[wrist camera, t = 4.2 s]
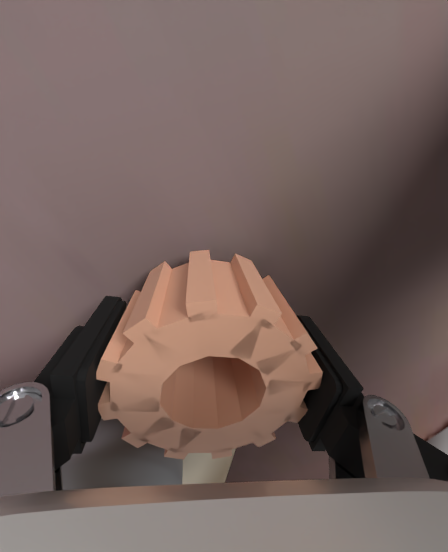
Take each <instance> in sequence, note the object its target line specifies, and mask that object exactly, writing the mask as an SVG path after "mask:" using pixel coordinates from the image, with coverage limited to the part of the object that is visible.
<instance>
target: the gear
mask: <svg viewBox="0 0 448 552" xmlns="http://www.w3.org/2000/svg"><path fill="white" fill-rule="evenodd" d="M316 349H318V348H317V346H316V345H315V343H314V342H313V340H312V339H311V337H310V336H309V334H308V333H307V331H306V330H305V328H304V327H303V325H302V324H301V322H300V321H299V319H298V318H297V316H296V315H295V313H294V312H293V310H292V309H291V307H290V306H289V304H288V303H287V301H286V300H285V298H284V297H283V295H282V294H281V292H280V291H279V289H278V288H277V286H276V285H275V283H274V282H273V280H272V279H271V277H270V276H269V275H268V276H266V277H265V278H263V279H262V278H261V276H260V275H259V273H258V271H257V269H256V268H255V266H254V264H253V263H252V261H251V260H249V259H247V258H244V257H242V256H240V255H237V254H235V255H234V257H233V258H232V260H231V262H224V261H217V260H211V259H210V252H209V250H201V251H192V252H190V256H189V263H186V264H183V265H181V266H178V267H175V268H173V269H172V268H171V267H170V266H169V265H168V264H167V263H166V262H165V261H164V262H163V263H161V264H160V265H158V266H157V267H156V268H154V269H153V270H151V271H150V273H149V275H148V277H147V279H146V282H145V284H144V286H143V288H142V291H141V292H140V291H137V290H135V292H134V294H133V296H132V298H131V300H130V302H129V304H128V306H127V308H126V310H125V312H124V314H123V316H122V318H121V320H120V322H119V324H118V326H117V328H116V330H115V332H114V334H113V336H112V338H111V340H110V342H109V344H108V346H107V348H106V350H105V352H104V354H103V356H102V358H101V360H100V363H99V366H98V369H97V372H96V379H97V380H102V381H106V382H107V383H106V386H105V388H104V391H103V393H102V396H101V398H100V400H99V403H98V411H99V413H100V415H101V417H102V419H103V421H104V420H111V419H118V420H119V421H120V422H121V423H122V424H123V425H124V426H125V427H124V431H123V434H122V438H121V439H123V440H124V441H126V442H128V443H130V444H131V445H133V446H135V447H137V448H139V447H141V446H143V445H144V444H146V443H149V444H152V445H155V446H158V447H160V448H163V449H165V452H164V457H169V458H176V459H183V460H184V459H185V457H186V456H187V454H188V453H211V455H212V459H216V458H222V457H228V456H232V449H235V448H238V447H241V446H244V445H247V444H251V443H254V444H255V445H257V446H258V447H261V446H263V445H265V444H267V443H269V442H271V441H273V440H275V439H276V436H275V433H274V431H275V430H276V429H278V428H279V427H280V426H282V425H283V424H284V423H286V422H287V421H290V422H294V423H298V422H299V421H300V420H301V418H302V417H303V416H304V415H305V414H306V412H307V410H308V409H307V407H306V404H305V402H304V400H303V399H304V397H305V395H306V393H307V391H308V390H314V389H318V388H319V387H320V385H321V380H322V374H323V372H322V370H321V368H320V367H319V365H318V363H317V362H316V360H315V359H314V357H313V355H312V354H311V352H312V351H314V350H316Z"/></svg>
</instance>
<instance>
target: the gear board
mask: <svg viewBox="0 0 448 552" xmlns="http://www.w3.org/2000/svg"><path fill="white" fill-rule="evenodd" d="M124 427H125V426H124V425H123V424H122V423H121V422H120V421H119V420H118V419H111V420H104V421H103V419H102V417H101V420H100V423H99V425H98V428H97V431H96V433H95V436H94V438H93V440H92V442H86V444H85V447H84V449H83V451H82V454H72V456H71V459H70V460H69V461H68V462H66V463H65V464H63V465H62V480H63V490H77V489H93V488H109V487H132V486H156V485H180V484H204V483H225V480H226V477H227V474H228V471H229V468H230V465H231V462H232V459H233V456H234V453H235V450H236V448H235V449H232V456H228V457H222V458H216V459H212V455H211V453H188V454H187V456H186V457H185V459H184V460H183V459H176V458H169V457H164V452H165V449H163V448H160V447H158V446H155V445H152V444H149V443H146V444H144V445H143V446H141V447H139V448H137V447H135V446H133V445H131V444H130V443H128V442H126V441H124V440H123V439H121V438H122V434H123V431H124Z"/></svg>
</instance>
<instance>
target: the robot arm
mask: <svg viewBox="0 0 448 552" xmlns="http://www.w3.org/2000/svg"><path fill="white" fill-rule="evenodd" d="M125 310H126V302H125V301H122V299H121V297H112V296H106V297H105V298H104V299H103V301H102V302H101V303H100V305H99V306H98V308H97V309H96V311H95V312H94V313H93V315H92V316H91V318H90V319H89V320H88V322H87V323H86V325H85V326H77V327H76V328H75V329H74V330H73V331H72V332H71V333H70V335H69V336H68V337H67V339H66V340H65V341H64V343H63V344H62V345H61V347H60V348H59V349H58V351H57V352H56V353H55V355H54V356H53V357H52V359H51V360H50V361H49V362H48V364H47V365H46V366H45V368H44V369H43V370H42V372H41V373H40V374H39V376H38V377H37V378H36V380H35V381H34V382H25V383H20V384H15V385H13V386H10V387H7V388H5V389H3V390H1V391H0V552H448V455H447V454H445V453H444V452H442V451H440V450H439V449H437V448H435V447H434V446H432V445H431V444H429V443H428V442H426V441H424V440H423V439H421V438H420V437H418V436H416V435H415V434H413V432H412V430H411V427H410V424H409V422H408V420H407V419H406V417H405V416H404V415H403V413H402V412H401V411H400V410H399V409H398V408H397V407H396V406H394V405H393V404H392V403H390V402H389V401H387V400H385V399H383V398H381V397H379V396H376V395H367V396H365V397H364V396H363V394H362V393H361V392H362V390H363V387H362V386H361V385H360V383H359V382H358V381H357V379H356V378H355V377H354V375H353V374H352V373H351V371H350V370H349V369H348V367H347V366H346V365H345V363H344V362H343V361H342V359H341V358H340V357H339V355H338V354H337V353H336V351H335V350H334V349H333V347H332V346H331V345H330V343H329V342H328V341H327V340H326V338H325V337H324V336H323V334H322V333H321V332H320V330H319V329H318V328H317V326H316V325H315V324H314V322H313V321H312V320H311V318H310V317H308V316H298V315H297V318H298V319H299V321H300V322H301V324H302V325H303V327H304V328H305V330H306V331H307V333H308V334H309V336H310V337H311V339H312V340H313V342H314V343H315V345H316V346H317V348H318V349H316V350H314V351H312V352H311V354H312V355H313V357H314V359H315V360H316V362H317V363H318V365H319V367H320V368H321V370H322V372H323V374H322V380H321V385H320V387H319V388H318V389H314V390H308V391H307V393H306V395H305V397H304V399H303V400H304V402H305V404H306V407H307V409H308V410H307V412H306V414H305V415H304V416H303V417H302V418H301V420H300V421H299V422H298V424H299V427H300V429H301V432H302V434H303V437H304V439H305V440H306V441H308V442H309V444H310V447H311V449H312V451H325V450H326V451H327V453H328V455H329V479H317V480H286V481H258V482H231V483H204V484H180V485H156V486H132V487H109V488H93V489H77V490H63V480H62V465H63V464H65V463H66V462H68V461H69V460H70V459H71V456H72V454H82V451H83V449H84V447H85V444H86V442H92V440H93V438H94V436H95V433H96V431H97V428H98V425H99V423H100V420H101V415H100V413H99V411H98V403H99V400H100V398H101V396H102V393H103V391H104V388H105V386H106V383H107V382H106V381H102V380H97V379H96V372H97V369H98V366H99V363H100V360H101V358H102V356H103V354H104V352H105V350H106V348H107V346H108V344H109V342H110V340H111V338H112V336H113V334H114V332H115V330H116V328H117V326H118V324H119V322H120V320H121V318H122V316H123V314H124V312H125Z"/></svg>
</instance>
